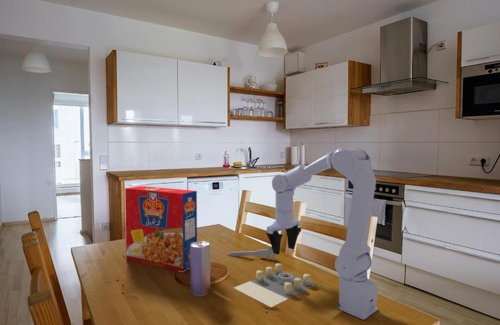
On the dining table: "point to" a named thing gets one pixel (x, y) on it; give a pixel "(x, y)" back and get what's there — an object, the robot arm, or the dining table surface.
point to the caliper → (256, 253)
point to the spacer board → (274, 286)
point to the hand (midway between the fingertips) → (283, 250)
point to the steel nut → (284, 278)
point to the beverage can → (200, 268)
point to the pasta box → (160, 226)
